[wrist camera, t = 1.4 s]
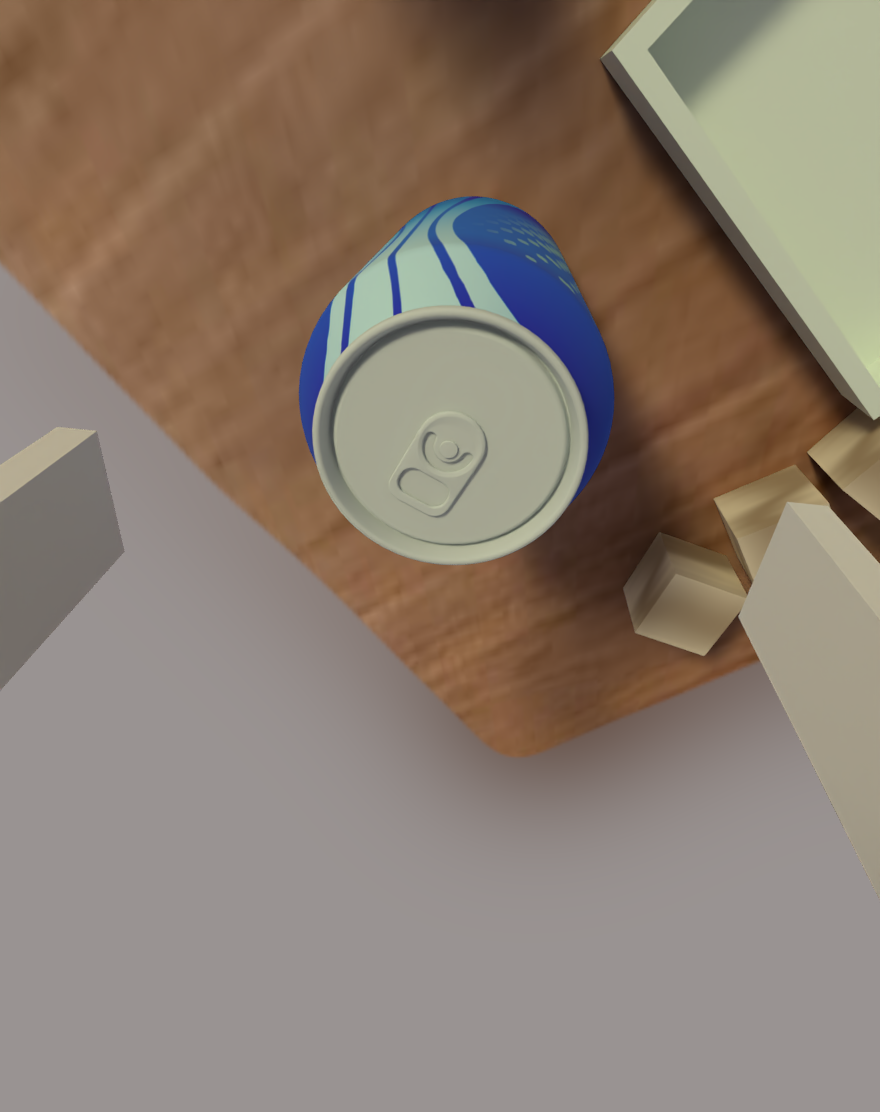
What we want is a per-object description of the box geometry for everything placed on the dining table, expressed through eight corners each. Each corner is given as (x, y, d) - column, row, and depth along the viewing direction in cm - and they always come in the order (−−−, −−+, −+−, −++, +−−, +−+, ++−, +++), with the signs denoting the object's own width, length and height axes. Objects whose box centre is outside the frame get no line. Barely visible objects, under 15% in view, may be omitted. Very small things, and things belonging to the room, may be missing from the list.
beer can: (347, 239, 28) (205, 342, 14) (538, 158, 26) (579, 191, 12) (419, 416, 32) (361, 623, 19) (588, 359, 30) (661, 548, 16)
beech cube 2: (794, 464, 32) (828, 502, 28) (814, 525, 34) (849, 569, 30) (712, 497, 33) (736, 539, 30) (736, 555, 35) (762, 600, 32)
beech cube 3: (658, 531, 34) (676, 573, 31) (725, 554, 35) (749, 599, 32) (622, 587, 37) (634, 632, 33) (685, 608, 37) (704, 656, 34)
